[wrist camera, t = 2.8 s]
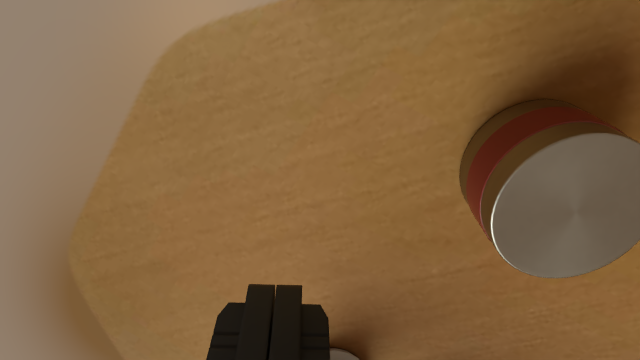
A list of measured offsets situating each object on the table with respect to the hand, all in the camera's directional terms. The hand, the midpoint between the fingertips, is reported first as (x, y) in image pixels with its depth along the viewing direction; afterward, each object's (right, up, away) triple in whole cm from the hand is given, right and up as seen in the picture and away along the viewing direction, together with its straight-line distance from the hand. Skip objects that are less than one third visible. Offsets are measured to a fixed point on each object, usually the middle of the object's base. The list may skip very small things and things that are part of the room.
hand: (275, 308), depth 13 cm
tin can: (+12, +4, +10) cm, 16 cm away
